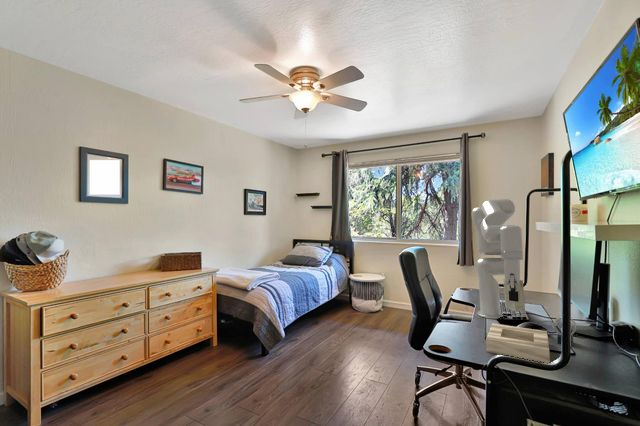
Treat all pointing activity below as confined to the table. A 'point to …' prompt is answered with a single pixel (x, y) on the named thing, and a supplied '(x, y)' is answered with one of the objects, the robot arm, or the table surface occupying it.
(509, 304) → the skincare box
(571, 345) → the watch
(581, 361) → the table surface
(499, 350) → the organizer
